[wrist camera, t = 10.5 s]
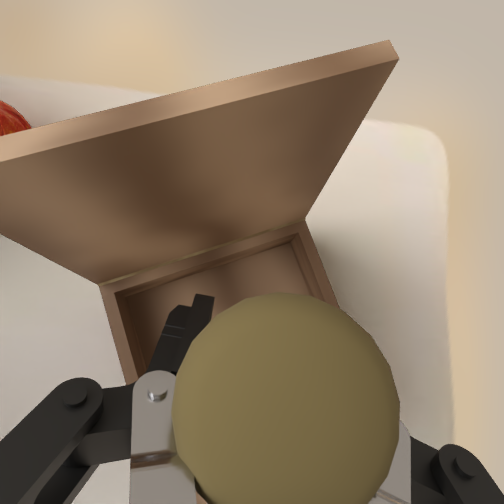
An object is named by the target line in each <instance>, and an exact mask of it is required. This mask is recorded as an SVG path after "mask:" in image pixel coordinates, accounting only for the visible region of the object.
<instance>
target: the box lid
mask: <svg viewBox="0 0 504 504" xmlns="http://www.w3.org/2000/svg"><path fill="white" fill-rule="evenodd" d="M398 60H399V57H398V55H397V53H396V52H395V50H394V48H393V46H392V44H391V42H390V40H386V41H382V42H378V43H374V44H370V45H366V46H362V47H358V48H354V49H350V50H346V51H342V52H338V53H334V54H330V55H326V56H322V57H318V58H314V59H310V60H306V61H302V62H298V63H294V64H290V65H286V66H281V67H277V68H273V69H269V70H265V71H261V72H257V73H254V74H250V75H246V76H241V77H237V78H234V79H230V80H225V81H221V82H217V83H213V84H209V85H205V86H201V87H197V88H193V89H189V90H185V91H181V92H177V93H173V94H169V95H165V96H161V97H157V98H153V99H149V100H145V101H141V102H137V103H133V104H129V105H125V106H121V107H117V108H113V109H109V110H104V111H100V112H96V113H92V114H88V115H84V116H80V117H76V118H72V119H68V120H64V121H60V122H56V123H52V124H48V125H44V126H40V127H36V128H32V129H28V130H24V131H20V132H16V133H12V134H8V135H4V136H0V234H2V235H3V236H5V237H7V238H9V239H11V240H13V241H15V242H17V243H19V244H21V245H23V246H25V247H26V248H28V249H30V250H32V251H34V252H36V253H38V254H40V255H42V256H44V257H46V258H48V259H49V260H51V261H53V262H55V263H57V264H59V265H61V266H63V267H65V268H67V269H69V270H71V271H72V272H74V273H76V274H78V275H80V276H82V277H84V278H86V279H88V280H90V281H92V282H94V283H95V284H97V285H98V286H102V285H106V284H109V283H112V282H115V281H118V280H121V279H124V278H127V277H130V276H133V275H137V274H140V273H143V272H146V271H149V270H152V269H155V268H158V267H161V266H165V265H168V264H171V263H174V262H177V261H180V260H183V259H186V258H189V257H192V256H196V255H199V254H202V253H205V252H208V251H211V250H214V249H217V248H220V247H223V246H227V245H230V244H233V243H236V242H239V241H242V240H245V239H248V238H251V237H254V236H258V235H261V234H264V233H267V232H270V231H273V230H276V229H279V228H282V227H285V226H289V225H292V224H295V223H298V222H301V221H304V220H305V217H306V216H307V214H308V212H309V211H310V209H311V207H312V206H313V204H314V202H315V200H316V199H317V197H318V195H319V194H320V192H321V190H322V189H323V187H324V185H325V184H326V182H327V180H328V178H329V177H330V175H331V173H332V172H333V170H334V168H335V167H336V165H337V163H338V162H339V160H340V158H341V156H342V155H343V153H344V151H345V150H346V148H347V146H348V145H349V143H350V141H351V140H352V138H353V136H354V134H355V133H356V131H357V129H358V128H359V126H360V124H361V123H362V121H363V119H364V118H365V116H366V114H367V113H368V111H369V109H370V107H371V106H372V104H373V102H374V100H375V99H376V97H377V95H378V94H379V92H380V91H381V89H382V87H383V85H384V84H385V82H386V80H387V79H388V77H389V75H390V74H391V72H392V70H393V69H394V67H395V65H396V63H397V62H398Z"/></svg>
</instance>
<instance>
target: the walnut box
mask: <svg viewBox="0 0 504 504" xmlns="http://www.w3.org/2000/svg"><path fill="white" fill-rule="evenodd" d="M99 288H100V292H101V295H102V299H103V302H104V306H105V310H106V313H107V317H108V321H109V324H110V328H111V331H112V335H113V339H114V342H115V346H116V349H117V353H118V357H119V360H120V364H121V368H122V371H123V375H124V378H125V382H126V385H129V384H131V383H134V382H135V381H137V380H138V379H139V378H140V377H141V376H143V375H144V374H145V372H146V371H147V369H148V366H149V364H150V361H151V359H152V356H153V354H154V351H155V348H156V346H157V343H158V341H159V338H160V336H161V333H162V330H163V328H164V326H165V323H166V320H167V318H168V315H169V313H170V312H171V311H172V310H173V309H174V308H175V307H176V306H177V305H185V306H190V307H191V306H192V303H193V300H194V297H195V294H196V293H197V294H202V295H207V296H213V297H215V300H214V306H213V312H212V317H211V320H212V319H213V318H214V317H215V316H216V315H217V314H219V313H221V312H223V311H224V310H226V309H228V308H230V307H231V306H233V305H235V304H237V303H238V302H240V301H242V300H244V299H245V298H250V297H255V296H260V295H265V294H270V293H275V292H284V293H292V294H301V295H310V296H312V297H315V298H317V299H319V300H321V301H323V302H326V303H328V304H330V305H332V306H334V307H337V308H339V306H338V303H337V300H336V298H335V295H334V293H333V290H332V288H331V285H330V283H329V280H328V277H327V275H326V272H325V270H324V267H323V265H322V262H321V260H320V257H319V254H318V252H317V249H316V247H315V244H314V242H313V239H312V237H311V234H310V232H309V229H308V226H307V224H306V221H305V220H304V221H301V222H298V223H295V224H292V225H289V226H285V227H282V228H279V229H276V230H273V231H270V232H267V233H264V234H261V235H258V236H254V237H251V238H248V239H245V240H242V241H239V242H236V243H233V244H230V245H227V246H223V247H220V248H217V249H214V250H211V251H208V252H205V253H202V254H199V255H196V256H192V257H189V258H186V259H183V260H180V261H177V262H174V263H171V264H168V265H165V266H161V267H158V268H155V269H152V270H149V271H146V272H143V273H140V274H137V275H133V276H130V277H127V278H124V279H121V280H118V281H115V282H112V283H109V284H106V285H102V286H99ZM339 309H340V308H339ZM195 491H196V489H195ZM196 501H197V504H207V502H206V501H205V500H204V499H203V498H202V497H201V496H200V495H199V494H198V493H197V491H196Z"/></svg>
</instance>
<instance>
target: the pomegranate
mask: <svg viewBox="0 0 504 504" xmlns="http://www.w3.org/2000/svg"><path fill="white" fill-rule="evenodd" d="M28 129H32V128H31V126H30V125H29V124H28V122H27V121H26V120H25V119H24V117H23V116H22V115H21V114H20V113H19V112H18V111H16V110H15V108H13V107H12V106H10V105H8V104H6V103H5V102H3V101H0V136H4V135H8V134H12V133H16V132H20V131H24V130H28Z"/></svg>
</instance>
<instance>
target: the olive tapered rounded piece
mask: <svg viewBox="0 0 504 504" xmlns="http://www.w3.org/2000/svg"><path fill="white" fill-rule="evenodd" d="M399 411H400V401H399V398H398V394H397V390H396V387H395V383H394V380H393V376H392V372H391V369H390V366H389V364H388V362H387V361H386V359H385V358H384V356H383V354H382V353H381V351H380V349H379V348H378V346H377V345H376V343H375V341H374V340H373V338H372V336H371V335H370V334H369V333H368V332H366V331H365V330H364V329H363V328H362V327H361V326H360V325H359V324H357V323H356V322H355V321H354V320H353V319H352V318H351V317H350V316H348V315H347V314H346V313H345V312H344V311H342V310H341V309H339V308H337V307H334V306H332V305H330V304H328V303H326V302H323V301H321V300H319V299H317V298H315V297H312V296H310V295H301V294H292V293H284V292H275V293H270V294H265V295H260V296H255V297H250V298H245V299H244V300H242V301H240V302H238V303H237V304H235V305H233V306H231V307H230V308H228V309H226V310H224V311H223V312H221V313H219V314H217V315H216V316H215V317H214V318H213V319H212V320H211V321H210V322H209V324H208V325H207V326H206V327H205V328H204V329H203V330H202V331H201V332H200V333H199V334H198V336H197V337H196V338H195V339H194V340H193V341H192V343H191V345H190V347H189V349H188V351H187V353H186V355H185V358H184V360H183V362H182V364H181V366H180V368H179V370H178V372H177V375H176V381H175V388H174V395H173V402H172V409H171V416H172V423H173V429H174V436H175V442H176V449H177V452H178V454H179V457H180V458H181V459H182V460H183V461H184V463H185V464H186V465H187V466H188V467H189V469H190V470H191V472H192V473H193V474H194V482H195V489H196V491H197V493H198V494H199V495H200V496H201V497H202V498H203V499H204V500H205V501H206V502H207V503H208V504H368V503H369V502H370V500H371V499H372V498H373V496H374V495H375V494H376V492H377V491H378V489H379V488H380V486H381V485H382V484H383V482H384V481H385V479H386V478H387V476H388V474H389V470H390V467H391V464H392V461H393V458H394V454H395V451H396V448H397V445H398V442H399Z"/></svg>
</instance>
